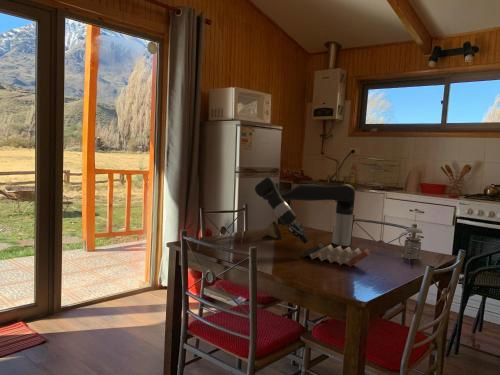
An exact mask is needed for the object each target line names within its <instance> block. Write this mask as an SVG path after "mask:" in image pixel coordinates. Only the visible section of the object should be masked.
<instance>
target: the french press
mask: <svg viewBox="0 0 500 375" xmlns="http://www.w3.org/2000/svg"><path fill="white" fill-rule="evenodd" d="M414 212H419V209H418V208H415V209H414ZM416 218H417V215H415V217H414V221H416V220H417V219H416ZM405 231H406V232H405ZM405 231H403V232H402V233H401V234H400V235H399V237H398V242H399V245H400V246H401V247H402V248H403V250H402V254H401V255H402V258H403V257H405V258H404V259H406V258H409V259H408V260H410V259H421V258H422V257H421V250H422V242H421V241H422V239H421V238H418V237H414V236H415V234H423V230H422V229H419V228H418V227H416V224H414V226H413V227H408V228H405ZM407 232H409V233H412V235H413V236H407ZM403 235H405V236H406V237H405V240H404V245H402V244H401V237H402V236H403Z"/></svg>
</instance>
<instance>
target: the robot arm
mask: <svg viewBox="0 0 500 375" xmlns="http://www.w3.org/2000/svg"><path fill="white" fill-rule="evenodd" d="M279 190H280V185H279V183H278V182H277V181H275V179H273V178H272V177H270V176H267V177H265V178H264V179H262V180H261V181H260V182H258V183H257V184H256V185H255V187H254V192H255V193H256V195H257V196H259V197H260V198H262V200H265V201H267V203H268V205H269V206H270V207H271V209H272V210H273V211H274V214H275V215H276V216H277V218H278V219H279V221H280V222H281V223H282V225H283V226H288V230H287V231H288V232H289V233H290V234H291V235H292V236H294V237H296V238H299V239H300V240H301V241H302V243H303V244H308V242H309V239H308V238H307V235H305V233H306V231H305V229H304V226H303V223H299V222H298V221H297V219H296V218H297V215H296V213H295V212H294V210H293V209H292V208H291V206H290V205H289V204H288V203H287V202H286V201H311V202H312V201H316V202H317V201H327V200H328V201H329V200H330V201H336V208H335V220H334V225H333V227H332V236H331V243H332V244H333V245H337V246H341V247H347V246H348V247H350V246H351V239H352V230H353V229H352V227H353V218H354V216H353V215H354V208H355V198H356V191H355V188H354V187H353V186H352V185H351V184H348V183H344V184H342V185H334V186H333V185H332V186H327V185H321V184H313V183H312V184H311V183H301V184H298V185H297V186H295V187H294V188H292V189H291V190H288V191H287V192H284V193H282V194H281V193H280V191H279Z"/></svg>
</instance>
